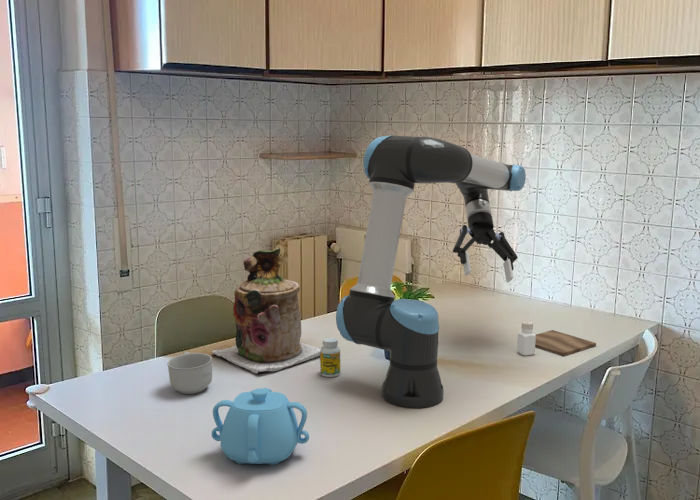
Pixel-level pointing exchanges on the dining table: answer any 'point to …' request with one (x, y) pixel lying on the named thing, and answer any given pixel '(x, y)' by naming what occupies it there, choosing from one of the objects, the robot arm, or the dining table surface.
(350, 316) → the robot arm
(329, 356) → the supplement bottle
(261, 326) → the cookie jar
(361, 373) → the dining table surface
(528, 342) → the pepper shaker
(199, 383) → the teacup
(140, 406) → the dining table surface
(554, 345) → the board
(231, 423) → the decorative pot
